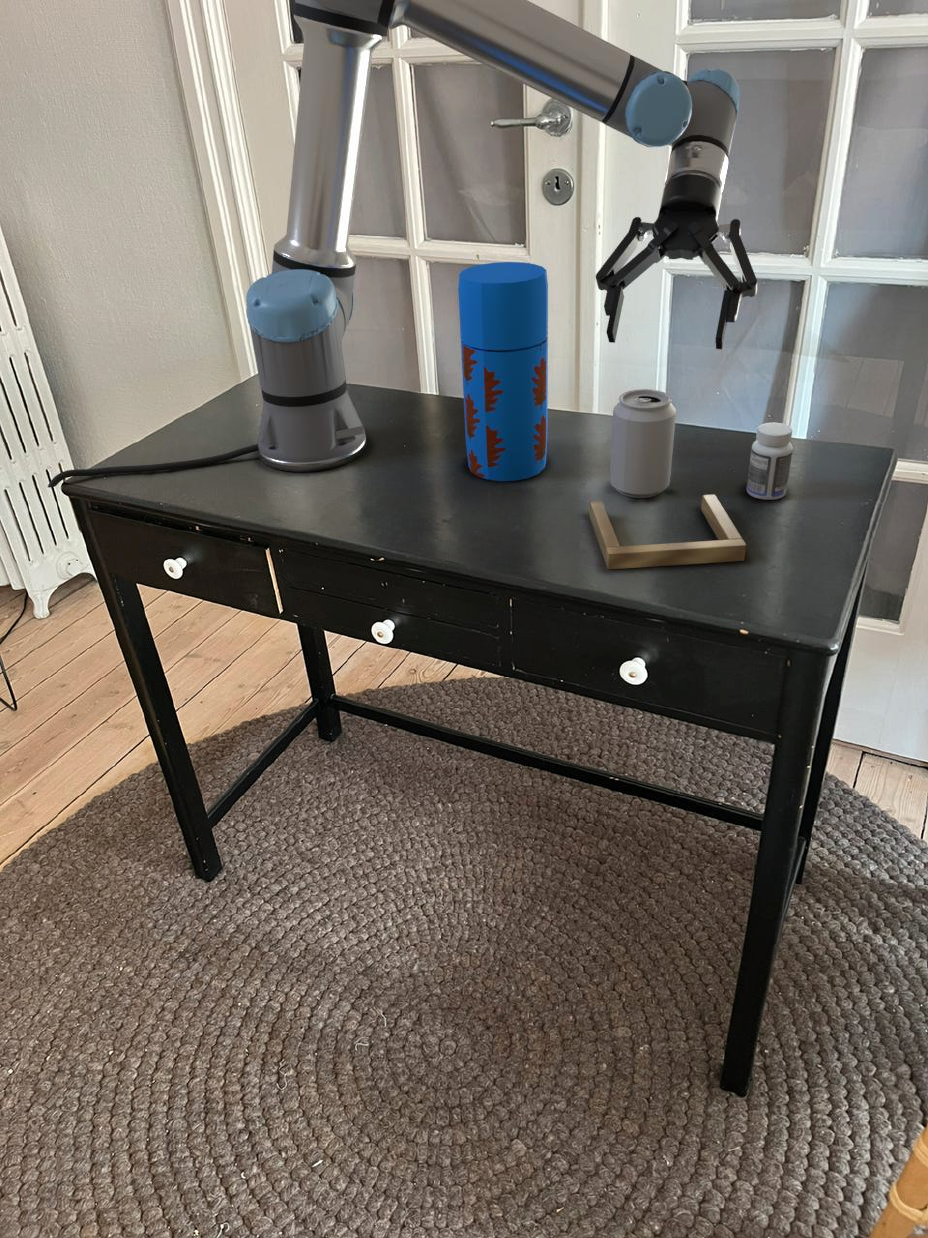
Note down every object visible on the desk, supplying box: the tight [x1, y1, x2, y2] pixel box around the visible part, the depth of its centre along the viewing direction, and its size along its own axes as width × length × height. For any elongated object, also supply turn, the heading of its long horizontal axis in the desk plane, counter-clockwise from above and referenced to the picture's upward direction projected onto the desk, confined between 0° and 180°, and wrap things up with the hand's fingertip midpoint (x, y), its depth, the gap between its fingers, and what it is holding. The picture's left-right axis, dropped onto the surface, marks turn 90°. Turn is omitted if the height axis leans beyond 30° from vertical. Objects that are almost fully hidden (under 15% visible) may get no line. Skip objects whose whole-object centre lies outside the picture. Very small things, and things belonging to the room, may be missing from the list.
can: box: [609, 388, 677, 499], centre depth 113 cm, size 8×8×12 cm
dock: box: [589, 494, 747, 570], centre depth 105 cm, size 15×12×2 cm
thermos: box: [457, 261, 549, 482], centre depth 117 cm, size 11×11×25 cm
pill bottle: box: [746, 421, 794, 501], centre depth 111 cm, size 5×5×8 cm
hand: (663, 340), depth 116 cm, fingers open, 13 cm apart
